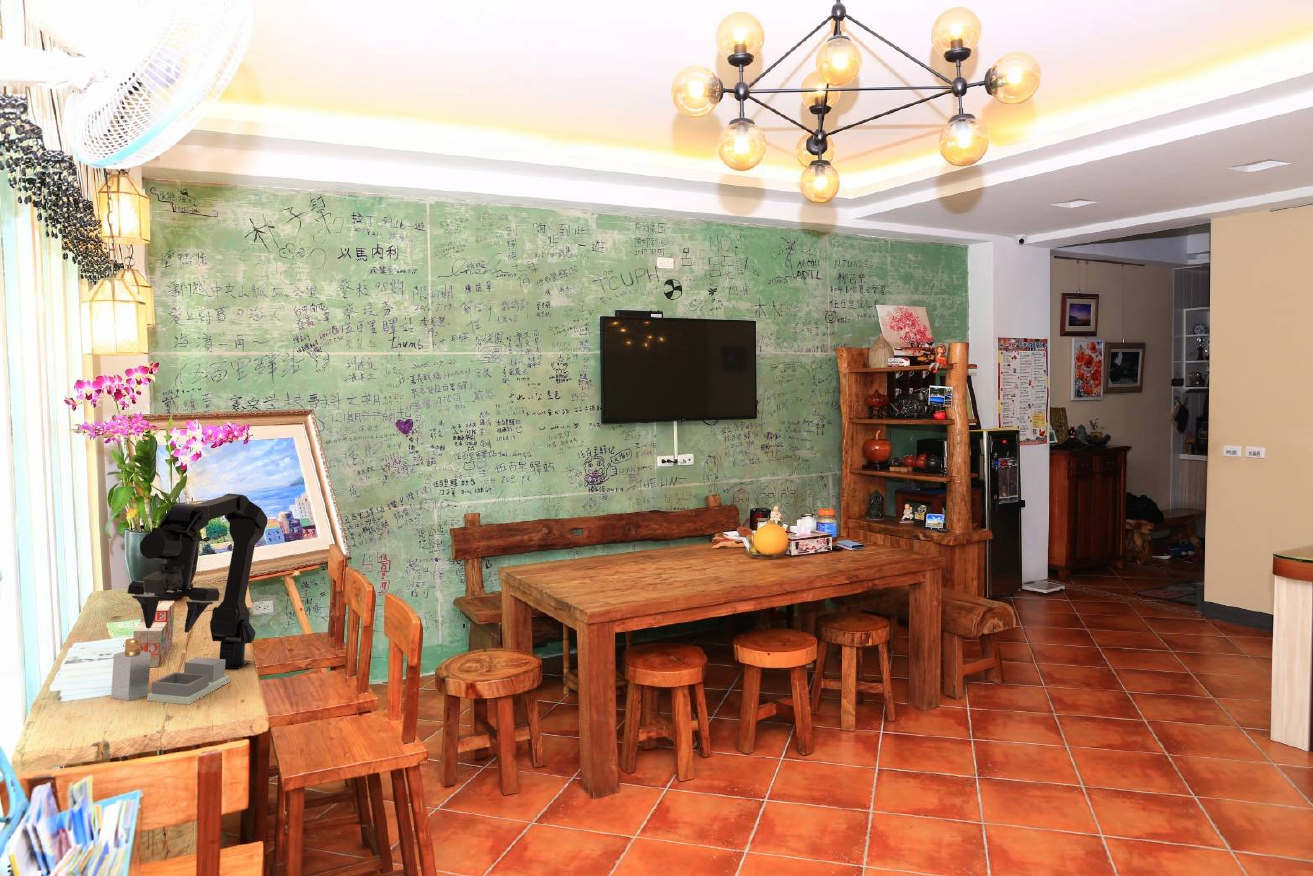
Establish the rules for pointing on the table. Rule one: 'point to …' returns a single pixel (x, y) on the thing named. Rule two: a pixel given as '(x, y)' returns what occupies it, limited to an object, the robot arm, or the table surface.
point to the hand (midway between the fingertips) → (167, 630)
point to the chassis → (190, 682)
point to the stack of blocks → (157, 633)
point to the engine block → (131, 672)
